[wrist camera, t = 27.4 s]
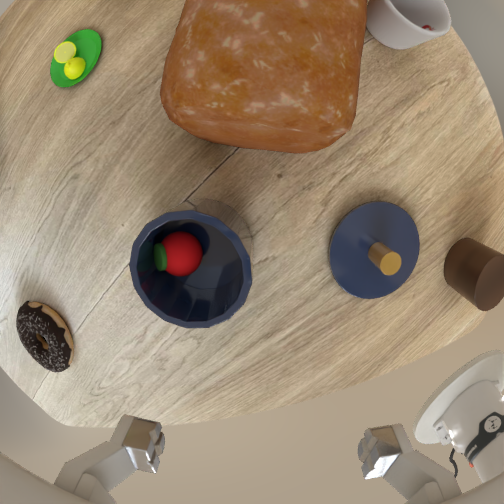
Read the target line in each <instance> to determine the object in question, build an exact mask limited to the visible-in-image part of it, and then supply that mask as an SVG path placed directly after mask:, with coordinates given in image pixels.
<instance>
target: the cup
mask: <svg viewBox="0 0 504 504" xmlns="http://www.w3.org/2000/svg"><path fill="white" fill-rule="evenodd" d="M366 26H367V28H368V30H369V32H370V33H371V34H372V36H373V37H374V38H375V39H377V40H378V41H379V42H380V43H382V44H384V45H385V46H388V47H390V48H393V49H408V48H411V47H414V46H416V45H419V44H421V43H424V42H427V41H429V40H432V39H434V38H437V37H440V36H442V35H444V34H446V33H447V32H448V31H449V29H450V26H451V16H450V13H449V10H448V8H447V6H446V4H445V2H444V0H370V1H369V3H368V5H367V22H366Z"/></svg>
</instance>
